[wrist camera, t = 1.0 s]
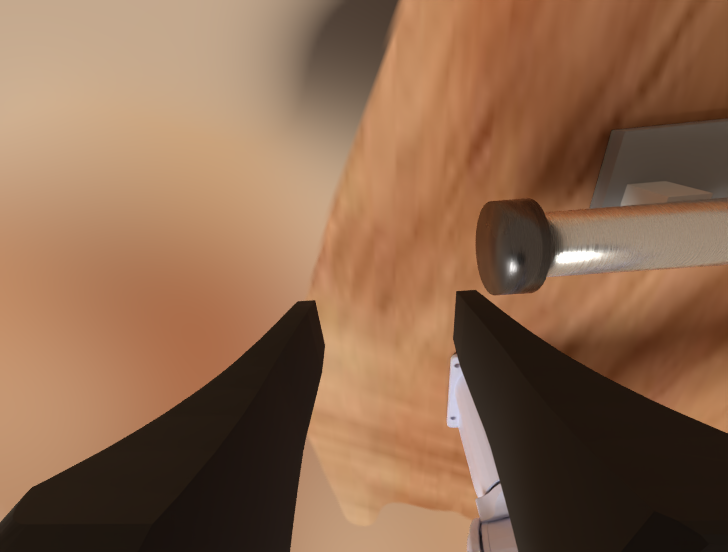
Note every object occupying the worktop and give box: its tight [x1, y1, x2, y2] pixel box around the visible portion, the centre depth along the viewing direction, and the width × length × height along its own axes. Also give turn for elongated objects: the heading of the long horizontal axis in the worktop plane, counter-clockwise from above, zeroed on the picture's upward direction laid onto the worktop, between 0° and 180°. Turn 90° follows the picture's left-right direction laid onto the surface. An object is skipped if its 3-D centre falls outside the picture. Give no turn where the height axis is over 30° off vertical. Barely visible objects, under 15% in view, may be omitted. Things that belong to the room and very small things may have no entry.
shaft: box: [476, 197, 728, 295], centre depth 13 cm, size 5×16×5 cm, turn 96°
